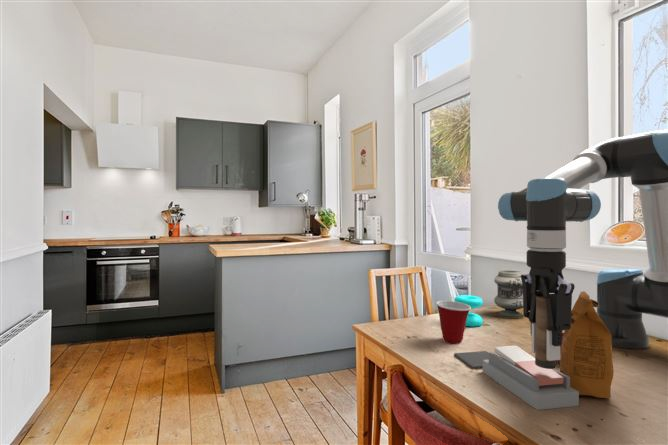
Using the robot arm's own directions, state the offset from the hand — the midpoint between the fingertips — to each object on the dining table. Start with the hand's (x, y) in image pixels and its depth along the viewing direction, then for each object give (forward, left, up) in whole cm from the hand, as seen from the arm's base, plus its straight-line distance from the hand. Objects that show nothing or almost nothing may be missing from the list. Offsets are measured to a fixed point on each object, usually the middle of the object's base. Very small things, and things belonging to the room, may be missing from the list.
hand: (545, 355), depth 84 cm
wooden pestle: (0, 0, -2) cm, 2 cm away
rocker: (0, -6, -5) cm, 8 cm away
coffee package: (-13, -3, -10) cm, 16 cm away
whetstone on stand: (0, -6, -10) cm, 11 cm away
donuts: (-14, -57, -10) cm, 59 cm away
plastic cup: (+1, -40, -10) cm, 41 cm away
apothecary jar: (-37, -65, -10) cm, 75 cm away
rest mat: (+2, -23, -10) cm, 25 cm away
